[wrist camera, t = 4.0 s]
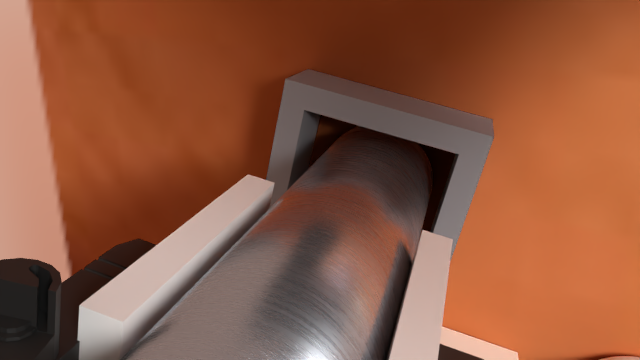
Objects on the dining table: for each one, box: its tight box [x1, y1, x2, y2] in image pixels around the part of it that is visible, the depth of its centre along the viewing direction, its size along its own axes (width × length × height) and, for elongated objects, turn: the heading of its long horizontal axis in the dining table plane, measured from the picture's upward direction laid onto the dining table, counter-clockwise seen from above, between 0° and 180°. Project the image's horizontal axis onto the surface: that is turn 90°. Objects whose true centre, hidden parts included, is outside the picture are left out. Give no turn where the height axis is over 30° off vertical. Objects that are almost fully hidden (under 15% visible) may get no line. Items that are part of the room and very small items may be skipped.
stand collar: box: [266, 69, 494, 261], centre depth 19 cm, size 7×7×2 cm
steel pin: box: [120, 126, 433, 360], centre depth 12 cm, size 4×4×16 cm
